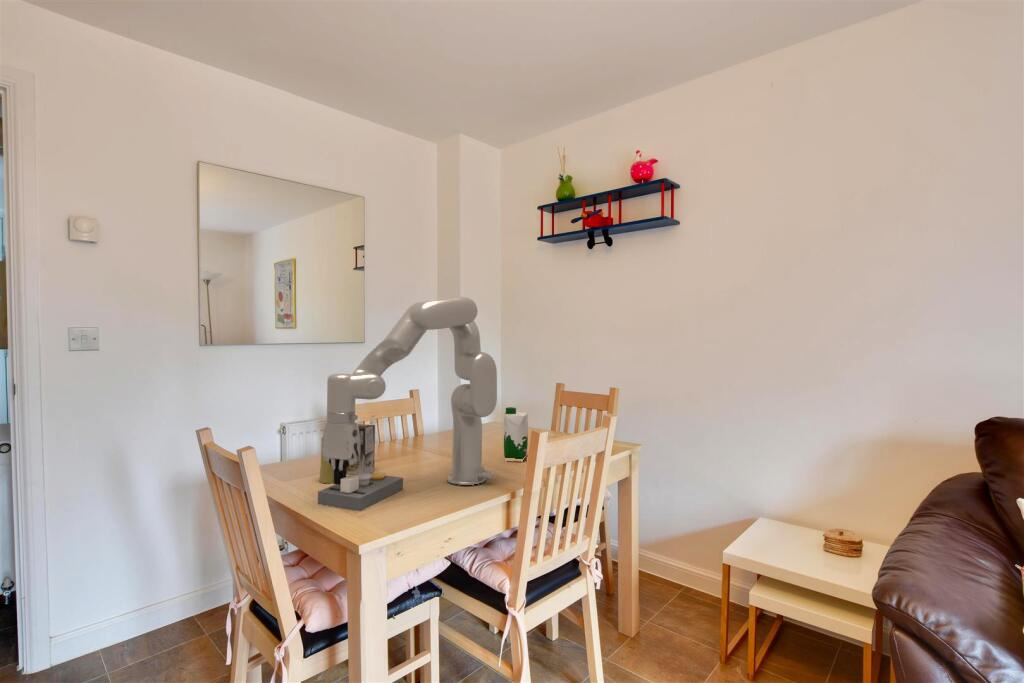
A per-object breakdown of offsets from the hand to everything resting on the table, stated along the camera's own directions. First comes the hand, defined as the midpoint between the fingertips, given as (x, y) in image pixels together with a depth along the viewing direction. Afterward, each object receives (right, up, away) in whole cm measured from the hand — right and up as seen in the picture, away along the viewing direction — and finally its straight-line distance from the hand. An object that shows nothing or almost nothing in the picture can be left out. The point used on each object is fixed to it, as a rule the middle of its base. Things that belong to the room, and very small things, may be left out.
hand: (339, 483), depth 139 cm
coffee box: (-4, -5, +31) cm, 32 cm away
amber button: (+7, -4, +12) cm, 15 cm away
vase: (-10, -5, +20) cm, 23 cm away
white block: (+3, -4, -1) cm, 5 cm away
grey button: (+5, -3, +6) cm, 8 cm away
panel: (+5, -6, +6) cm, 9 cm away
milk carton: (+50, -6, +53) cm, 73 cm away
